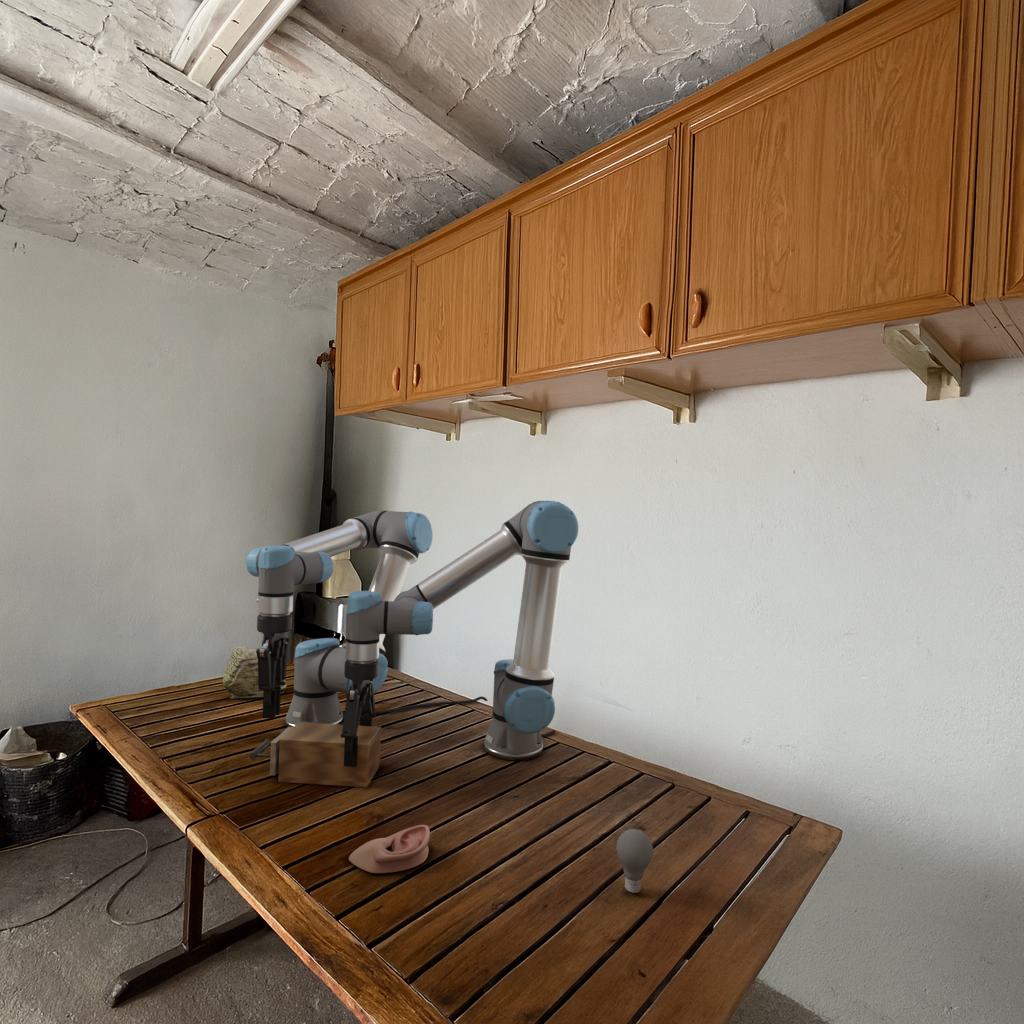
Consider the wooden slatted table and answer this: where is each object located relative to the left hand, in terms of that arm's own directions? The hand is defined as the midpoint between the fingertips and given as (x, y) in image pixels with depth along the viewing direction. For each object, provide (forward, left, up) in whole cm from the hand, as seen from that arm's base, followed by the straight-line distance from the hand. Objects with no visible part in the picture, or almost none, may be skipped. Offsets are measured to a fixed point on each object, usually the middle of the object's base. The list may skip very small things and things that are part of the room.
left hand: (271, 715), depth 145 cm
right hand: (-12, +16, -8) cm, 22 cm away
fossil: (-26, -52, -13) cm, 60 cm away
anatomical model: (+4, +47, -13) cm, 49 cm away
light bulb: (-16, +84, -13) cm, 87 cm away
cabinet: (-8, +12, -13) cm, 19 cm away
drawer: (-5, +7, -12) cm, 15 cm away
